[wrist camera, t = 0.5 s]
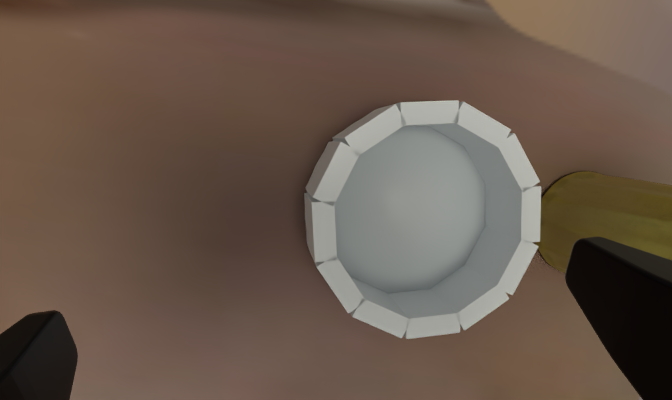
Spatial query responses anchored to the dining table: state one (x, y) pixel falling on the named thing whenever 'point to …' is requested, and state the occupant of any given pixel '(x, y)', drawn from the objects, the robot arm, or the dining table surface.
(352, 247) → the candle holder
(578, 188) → the vase
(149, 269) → the dining table surface
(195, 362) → the dining table surface
